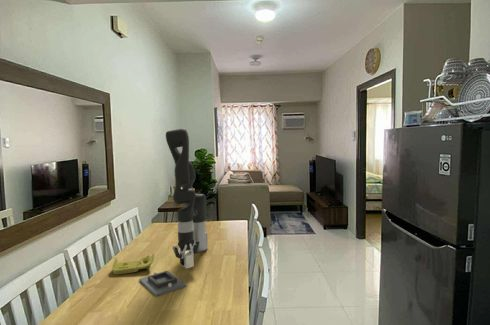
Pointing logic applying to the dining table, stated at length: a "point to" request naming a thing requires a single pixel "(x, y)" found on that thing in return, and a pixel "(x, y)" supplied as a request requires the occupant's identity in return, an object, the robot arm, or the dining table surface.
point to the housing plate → (162, 283)
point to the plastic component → (132, 265)
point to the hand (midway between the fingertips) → (186, 263)
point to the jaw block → (188, 260)
